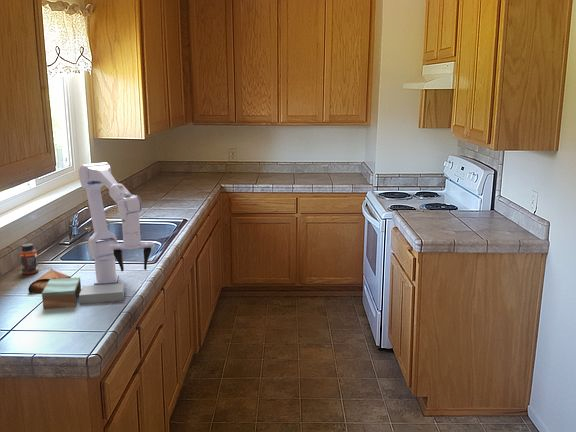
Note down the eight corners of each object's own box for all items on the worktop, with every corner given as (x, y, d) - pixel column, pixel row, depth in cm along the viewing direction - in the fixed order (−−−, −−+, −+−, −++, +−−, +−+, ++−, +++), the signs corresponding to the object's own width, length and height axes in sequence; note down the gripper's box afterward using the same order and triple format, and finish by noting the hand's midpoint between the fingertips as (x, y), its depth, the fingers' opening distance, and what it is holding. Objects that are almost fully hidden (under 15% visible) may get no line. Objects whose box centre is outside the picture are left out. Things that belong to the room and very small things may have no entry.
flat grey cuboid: (83, 294, 194) (82, 285, 194) (124, 290, 197) (124, 282, 197) (79, 303, 186) (79, 295, 185) (123, 300, 189) (122, 291, 188)
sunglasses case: (52, 293, 195) (40, 277, 194) (36, 302, 196) (24, 287, 195) (72, 276, 212) (61, 261, 211) (57, 284, 213) (47, 270, 212)
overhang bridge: (51, 294, 194) (49, 279, 193) (81, 292, 196) (80, 277, 195) (43, 308, 181) (41, 293, 180) (75, 306, 183) (74, 290, 182)
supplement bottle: (42, 271, 218) (39, 243, 216) (29, 275, 213) (26, 247, 210) (31, 269, 221) (28, 241, 218) (18, 273, 216) (15, 245, 213)
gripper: (107, 235, 182) (110, 274, 186) (153, 233, 185) (155, 271, 188) (110, 230, 189) (112, 268, 192) (153, 228, 192) (155, 265, 195)
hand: (133, 269), depth 191 cm, fingers open, 7 cm apart
